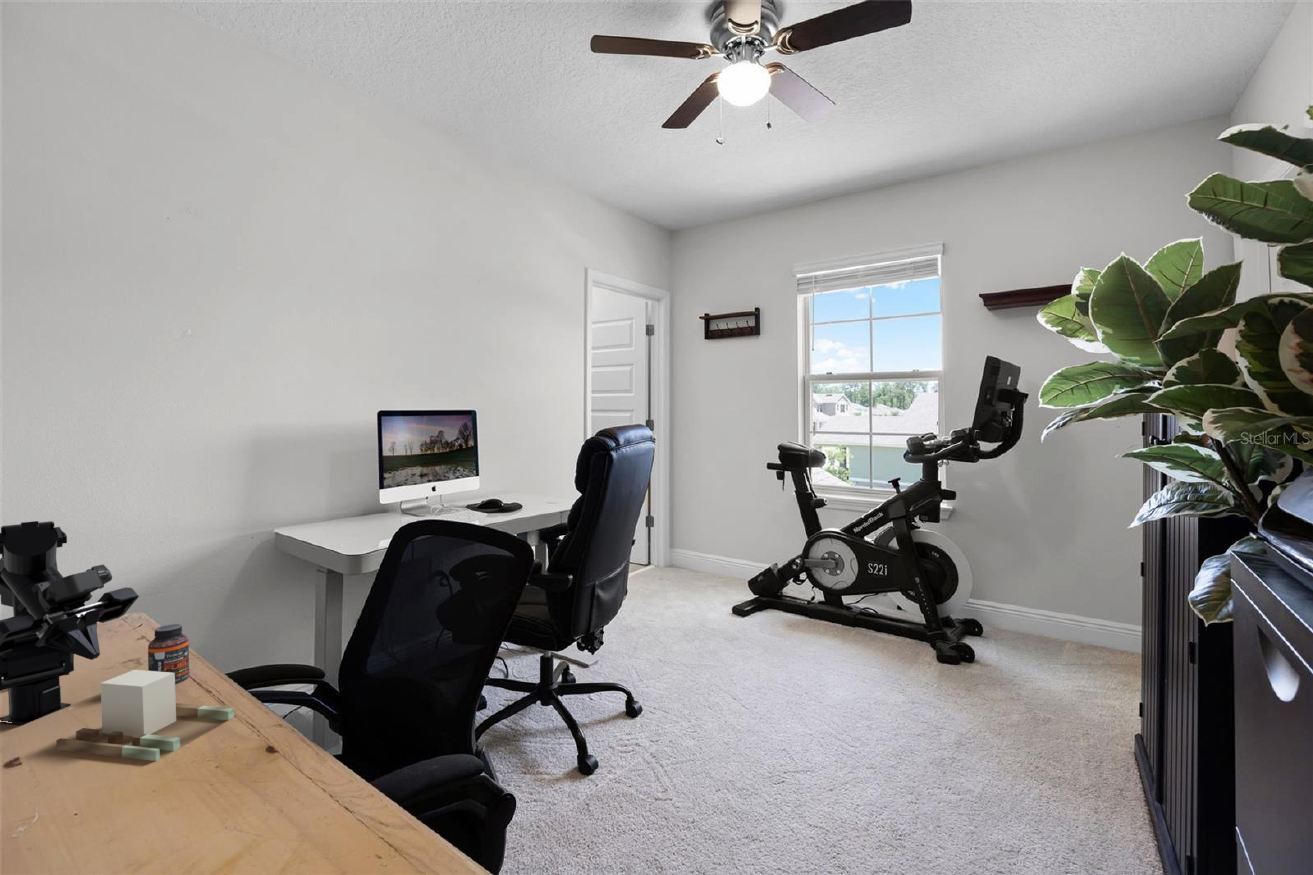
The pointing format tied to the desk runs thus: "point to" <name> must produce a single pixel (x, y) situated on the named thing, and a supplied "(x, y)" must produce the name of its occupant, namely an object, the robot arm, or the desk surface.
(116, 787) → the desk surface
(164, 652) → the supplement bottle
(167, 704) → the block
